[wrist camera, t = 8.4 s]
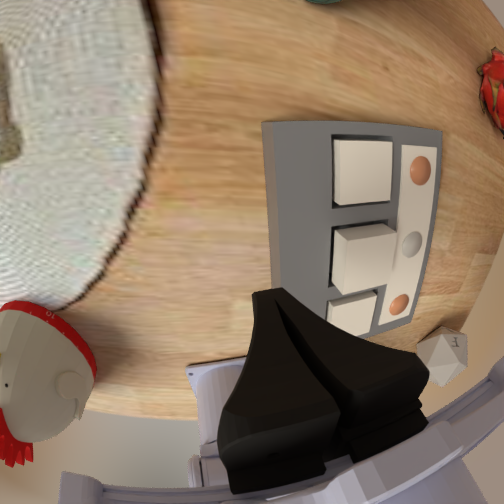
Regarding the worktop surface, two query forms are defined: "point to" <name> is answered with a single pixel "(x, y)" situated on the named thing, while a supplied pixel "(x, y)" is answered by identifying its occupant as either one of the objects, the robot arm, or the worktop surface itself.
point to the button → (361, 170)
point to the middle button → (363, 257)
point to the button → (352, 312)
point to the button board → (348, 212)
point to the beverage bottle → (324, 1)
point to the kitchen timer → (39, 378)
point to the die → (443, 354)
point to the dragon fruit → (493, 88)
